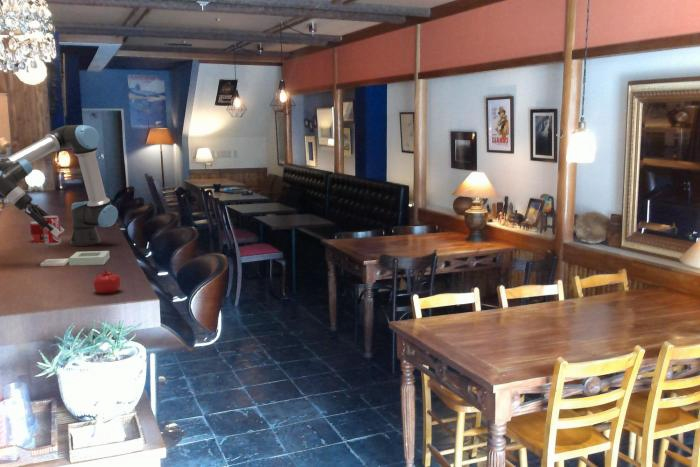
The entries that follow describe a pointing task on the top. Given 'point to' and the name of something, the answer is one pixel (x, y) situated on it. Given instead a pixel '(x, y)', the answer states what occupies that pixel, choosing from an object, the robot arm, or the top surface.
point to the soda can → (48, 236)
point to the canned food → (36, 232)
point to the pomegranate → (107, 282)
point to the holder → (89, 258)
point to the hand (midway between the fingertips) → (60, 233)
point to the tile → (54, 262)
